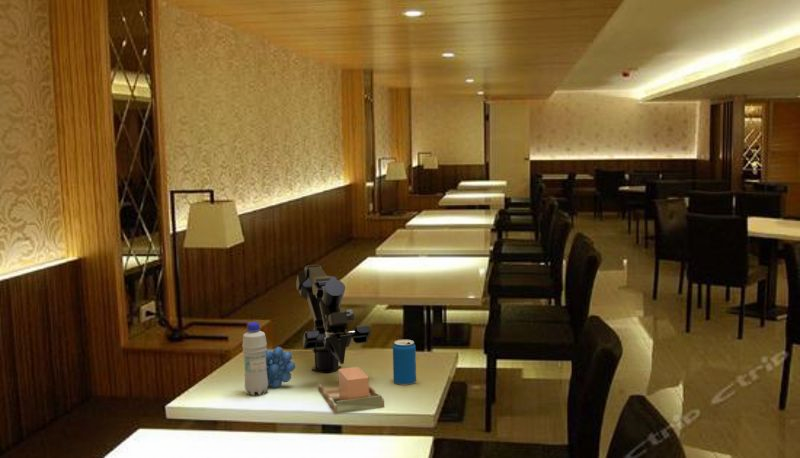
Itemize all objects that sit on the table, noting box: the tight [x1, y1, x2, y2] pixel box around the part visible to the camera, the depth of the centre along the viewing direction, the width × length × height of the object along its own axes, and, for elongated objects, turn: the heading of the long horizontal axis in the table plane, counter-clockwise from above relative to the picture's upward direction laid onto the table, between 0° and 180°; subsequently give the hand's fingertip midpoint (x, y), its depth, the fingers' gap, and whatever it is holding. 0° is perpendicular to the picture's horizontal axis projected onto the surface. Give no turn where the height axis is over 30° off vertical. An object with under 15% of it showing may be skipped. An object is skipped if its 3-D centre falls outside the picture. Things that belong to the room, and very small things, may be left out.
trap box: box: [317, 383, 385, 415], centre depth 202 cm, size 20×13×4 cm, turn 18°
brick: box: [337, 366, 370, 401], centre depth 198 cm, size 10×6×8 cm, turn 18°
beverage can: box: [392, 339, 417, 386], centre depth 214 cm, size 6×6×12 cm
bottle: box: [241, 321, 269, 396], centre depth 209 cm, size 7×7×20 cm
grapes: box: [266, 346, 296, 389], centre depth 213 cm, size 12×7×12 cm, turn 88°
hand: (342, 363), depth 209 cm, fingers closed
